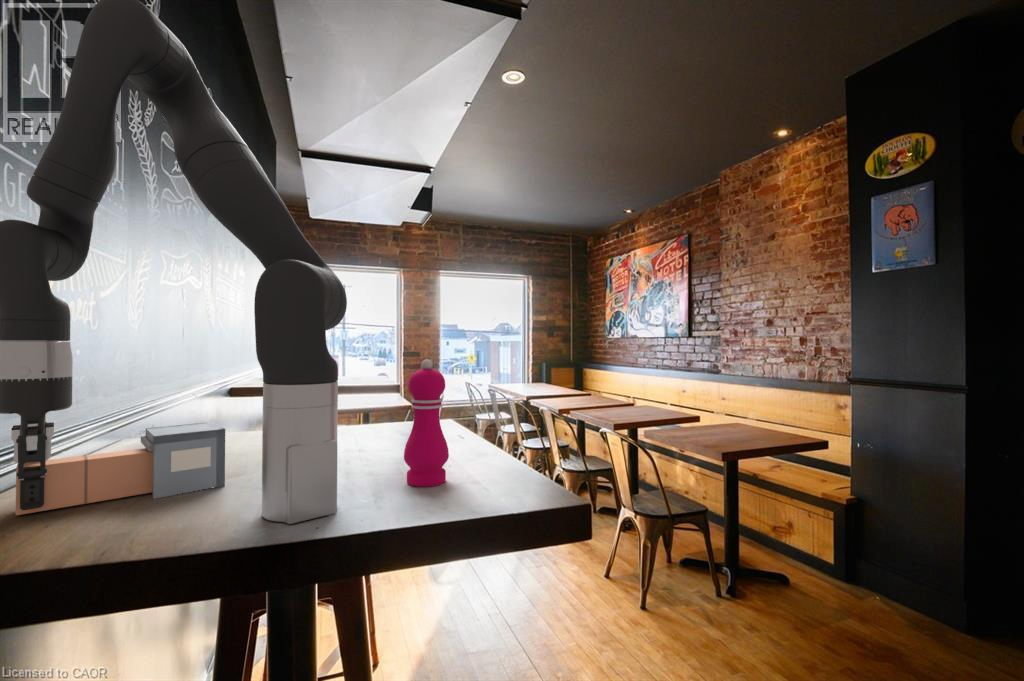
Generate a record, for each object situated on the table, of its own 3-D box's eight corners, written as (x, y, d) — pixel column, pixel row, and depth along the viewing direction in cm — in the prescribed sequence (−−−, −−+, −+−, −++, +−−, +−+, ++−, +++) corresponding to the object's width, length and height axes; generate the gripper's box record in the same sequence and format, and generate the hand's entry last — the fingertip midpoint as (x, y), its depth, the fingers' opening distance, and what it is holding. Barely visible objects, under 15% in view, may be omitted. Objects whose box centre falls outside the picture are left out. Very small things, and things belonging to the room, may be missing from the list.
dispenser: (225, 486, 75) (225, 429, 75) (148, 500, 68) (149, 436, 68) (210, 474, 82) (211, 421, 82) (140, 485, 75) (140, 428, 75)
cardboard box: (159, 491, 71) (160, 450, 71) (15, 515, 61) (16, 468, 61) (156, 486, 74) (156, 446, 74) (17, 508, 64) (17, 462, 64)
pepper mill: (424, 491, 73) (425, 360, 73) (394, 482, 77) (395, 359, 77) (457, 480, 79) (458, 359, 79) (427, 473, 83) (428, 358, 83)
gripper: (74, 376, 61) (72, 511, 61) (71, 371, 71) (69, 487, 71) (-13, 379, 56) (-15, 526, 56) (-3, 373, 66) (-5, 498, 66)
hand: (32, 503), depth 63 cm, fingers closed on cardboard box, 3 cm apart
